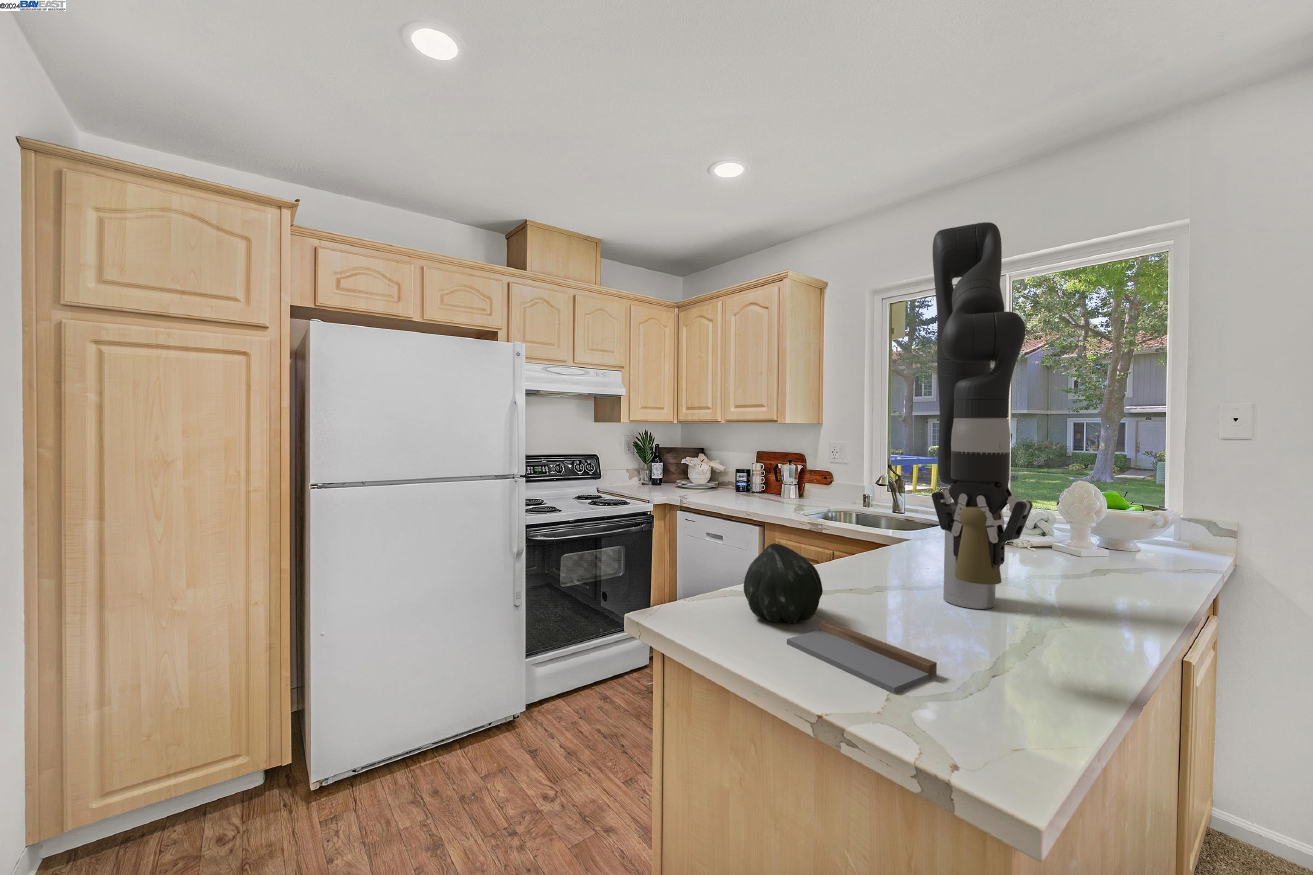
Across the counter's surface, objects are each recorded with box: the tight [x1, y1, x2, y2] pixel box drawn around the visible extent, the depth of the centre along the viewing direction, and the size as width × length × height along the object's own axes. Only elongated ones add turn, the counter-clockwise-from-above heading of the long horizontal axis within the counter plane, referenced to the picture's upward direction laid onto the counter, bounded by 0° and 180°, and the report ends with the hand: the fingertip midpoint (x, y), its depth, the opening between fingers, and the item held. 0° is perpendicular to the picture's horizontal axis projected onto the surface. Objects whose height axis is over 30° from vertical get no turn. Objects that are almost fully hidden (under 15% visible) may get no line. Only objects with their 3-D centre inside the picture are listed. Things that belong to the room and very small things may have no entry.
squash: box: [743, 542, 824, 624], centre depth 105 cm, size 14×15×15 cm
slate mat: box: [786, 629, 929, 694], centre depth 86 cm, size 8×20×1 cm, turn 32°
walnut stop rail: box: [819, 620, 938, 680], centre depth 89 cm, size 2×20×2 cm, turn 32°
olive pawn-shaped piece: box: [955, 506, 1002, 585], centre depth 82 cm, size 6×6×11 cm
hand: (977, 563), depth 82 cm, fingers closed on olive pawn-shaped piece, 4 cm apart
